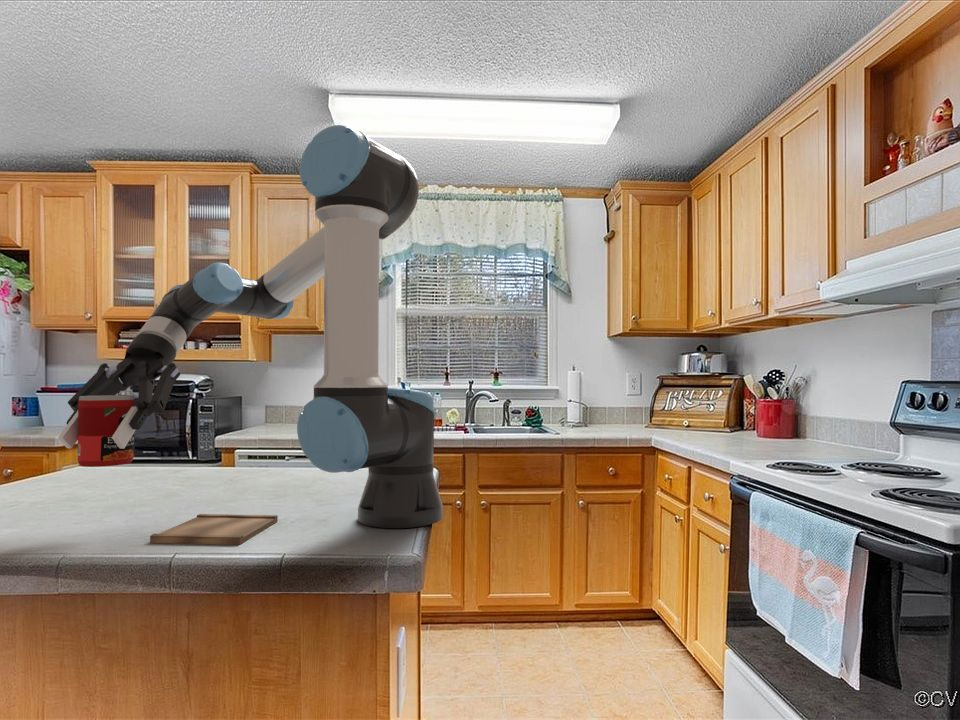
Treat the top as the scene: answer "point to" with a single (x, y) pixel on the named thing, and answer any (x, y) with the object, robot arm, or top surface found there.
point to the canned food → (103, 430)
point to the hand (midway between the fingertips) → (91, 442)
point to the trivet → (216, 529)
